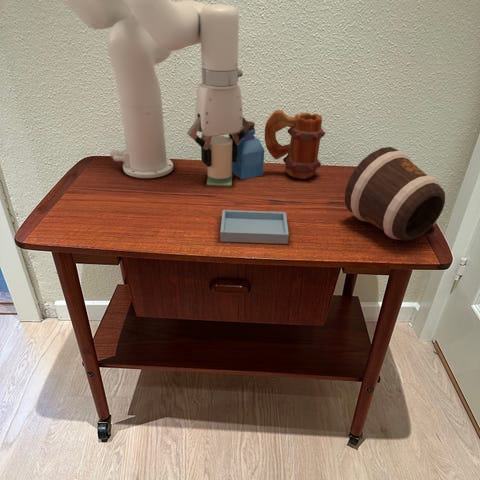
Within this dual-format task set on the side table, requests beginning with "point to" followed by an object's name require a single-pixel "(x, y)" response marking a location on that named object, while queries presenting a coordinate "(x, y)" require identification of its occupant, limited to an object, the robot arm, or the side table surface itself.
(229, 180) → the mat
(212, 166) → the cream upright cylinder
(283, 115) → the mug
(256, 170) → the perfume bottle
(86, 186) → the side table surface
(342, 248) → the side table surface
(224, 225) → the tray
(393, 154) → the brown wooden barrel
